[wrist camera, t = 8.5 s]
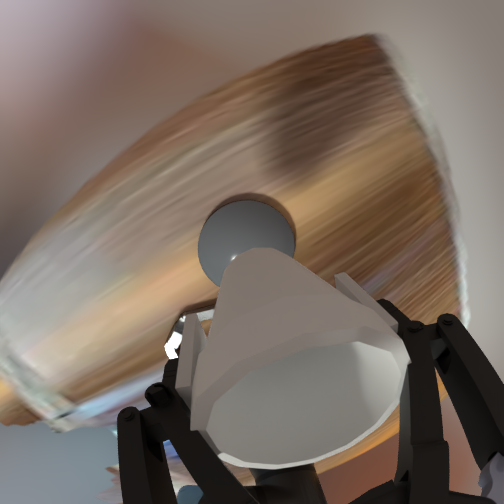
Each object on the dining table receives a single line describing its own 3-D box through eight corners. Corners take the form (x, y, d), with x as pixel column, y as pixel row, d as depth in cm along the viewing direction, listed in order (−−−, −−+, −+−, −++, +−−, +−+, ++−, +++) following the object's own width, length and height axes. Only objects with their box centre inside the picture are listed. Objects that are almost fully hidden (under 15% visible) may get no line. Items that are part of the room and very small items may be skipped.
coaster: (299, 277, 33) (301, 279, 33) (213, 300, 33) (213, 303, 32) (282, 189, 30) (284, 190, 29) (186, 214, 29) (185, 215, 28)
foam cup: (336, 291, 22) (424, 397, 10) (250, 351, 23) (277, 480, 11) (274, 201, 19) (368, 268, 7) (176, 276, 20) (139, 414, 8)
